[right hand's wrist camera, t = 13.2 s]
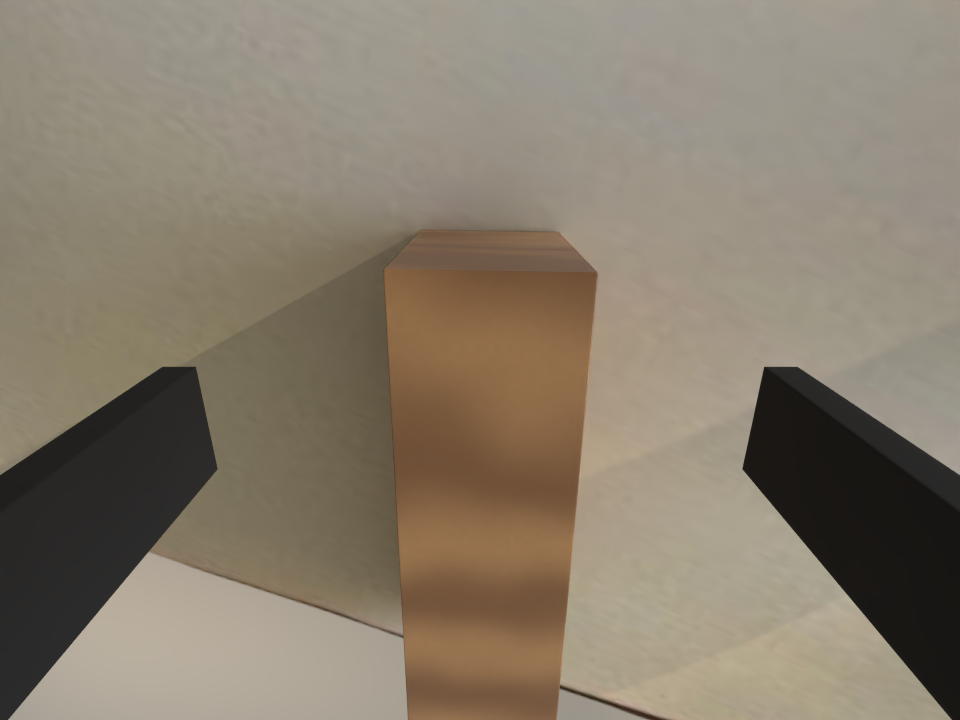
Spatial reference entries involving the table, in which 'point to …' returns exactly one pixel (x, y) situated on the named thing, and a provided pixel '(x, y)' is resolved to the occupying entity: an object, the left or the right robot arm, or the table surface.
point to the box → (486, 463)
